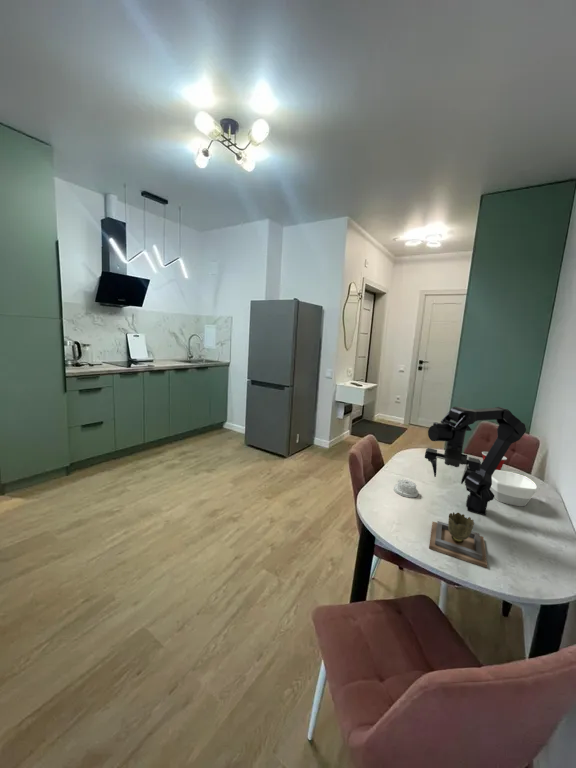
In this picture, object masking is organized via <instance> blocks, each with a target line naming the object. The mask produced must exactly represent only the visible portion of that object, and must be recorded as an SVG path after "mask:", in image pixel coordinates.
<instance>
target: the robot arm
mask: <svg viewBox="0 0 576 768" xmlns="http://www.w3.org/2000/svg"><path fill="white" fill-rule="evenodd" d="M492 420H494V421H495V422H496V423H497V425H498V427H497V429H496V431H497V438H496V439H495V441H494V442H493V444H492V446H491V448H490V449H489V450H488V451H487V452H488V454H487V455H486V457H485V459H484V460H483V459H482V462H481V460H480V459H479V458H475V457H470V456H469V457H468V454H464V453H463V449H464V443H465V440H466V433H467V431H468V432H469V431H470V432H471V431H472V430H473V429H472V428H471V425H473V424H475V422H480V421H492ZM526 431H527V428H526V425H525V423H523V422H522V421H521V420H520V419H519V418H517V417H516V416H515V415H514V414H513V413H512V412H511V411H510V410H509V408H504V407H501V406H496V407H485V408H468V407H467V408H466V407H461V406H453V407H451V408H450V410H449V411H448V412H447V413H446V414H445V416H444V417H443V418H442V419H441V421H440V422H433V424H432V425H431V426H430V427H429V428H428V429H427V435H428V438H429V440H430V441H432V442H445V448H444V453H441V452H438V449H434V448H430V447H426V449H425V453H424V459H426V460H427V461H428V462H430V463H431V466H432V471H433V476H434V478H436V477H437V465H438V464H437V463H438V459H440V460H444V464H445V465H446V466H451V467H454V468H459V467H460V465H462V466H463V465H465V467H464V470H463V473H462V476H461V480H460V481H461V482H460V484H461V485H463V484H464V485H465V489H466V491H467V492H469V494H467V496H466V503H465V507H466V509H467V511H468V512H472V513H475V514H479V515H482V516H487V507H488V504H489V503H490V501H493V500H494V499H495V498H494V494H493V493H492V491H491V488H490V487H491V485H492V474H493V473H494V471H495V469H496V468H497V466H498V465H499V463H500V461H501V460H502V458H503V456H504V457H505V455H506V453H507V452H508V450H509V448H510V446H511V445H512V444H514V443H516V442H518V441H520V440H521V439H522V437H524V435H525V434H526Z"/></svg>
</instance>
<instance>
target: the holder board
mask: <svg viewBox="0 0 576 768" xmlns="http://www.w3.org/2000/svg"><path fill="white" fill-rule="evenodd" d="M431 523H432V524H431V531H430V538H429V547H428V549H429V550H433V551H435V552H438V553H441V554H445V555H448V556H451V557H453V558H455V559H456V558H457V559H459V560H462V561H465V562H467V563H471V564H474V565H477V566H480V567H483V568H485V569H488V561H487V553H486V552H487V551H486V545H485V539H484V536H481V535H480V533H478V532H475V531H473V530H472V531H471V534H470V536H469V537H468V538H467V539H464V541H463V543H457V542H455V541H453V540H452V537H451V536H452V535H451V534H450V532H449V529H448V523H447V522H443V521H440V520H439V521H438V520H437V522H435V521H432V522H431Z"/></svg>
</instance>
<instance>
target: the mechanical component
mask: <svg viewBox="0 0 576 768" xmlns="http://www.w3.org/2000/svg"><path fill="white" fill-rule="evenodd" d="M393 491H394V492H395V493H396V494H397V495H399V496H401V497H405V498H416V497H418V496H419V491H418V489H417V485H416V482H414V481H411V480H410V479H404V478H402V479H398V480H397V483H396V484H394V485H393Z"/></svg>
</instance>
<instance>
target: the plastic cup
mask: <svg viewBox="0 0 576 768" xmlns="http://www.w3.org/2000/svg"><path fill="white" fill-rule="evenodd" d="M488 452H489V451H481V454H482V461H483V460H484V459H485V457H486V455H487V454H488ZM507 460H508V458H507V457H506V456H505V455H504V456H503V458H502V460H501V461H500V463H499V465H498V466H497V468H496V469H495V470H502V467H503V466H504V463H505V461H507Z"/></svg>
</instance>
